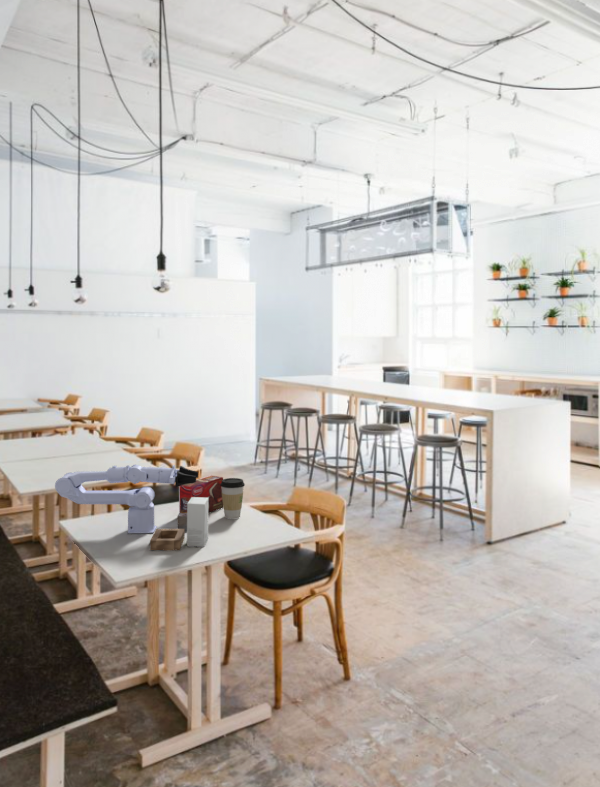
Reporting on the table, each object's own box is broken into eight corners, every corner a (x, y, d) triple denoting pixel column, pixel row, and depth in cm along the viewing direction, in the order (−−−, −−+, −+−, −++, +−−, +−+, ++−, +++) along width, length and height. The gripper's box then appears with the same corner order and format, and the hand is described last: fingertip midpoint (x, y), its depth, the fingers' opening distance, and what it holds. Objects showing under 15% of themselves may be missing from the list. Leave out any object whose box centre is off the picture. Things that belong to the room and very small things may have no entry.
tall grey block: (177, 531, 237) (177, 516, 237) (178, 528, 241) (178, 513, 241) (188, 531, 237) (188, 516, 237) (189, 528, 241) (189, 513, 241)
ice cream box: (211, 505, 273) (211, 475, 272) (223, 508, 270) (223, 477, 269) (179, 516, 257) (179, 484, 255) (191, 519, 253) (191, 486, 252)
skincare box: (191, 539, 229) (191, 496, 228) (209, 539, 229) (209, 497, 227) (186, 546, 221) (186, 502, 219) (205, 547, 220) (205, 503, 219)
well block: (150, 550, 216) (150, 540, 216) (156, 538, 229) (156, 528, 229) (179, 550, 217) (179, 540, 217) (184, 538, 230) (184, 528, 230)
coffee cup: (249, 516, 259) (249, 479, 257) (234, 521, 250) (234, 484, 249) (230, 512, 264) (230, 476, 263) (215, 517, 256) (215, 481, 254)
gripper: (157, 468, 229) (195, 470, 230) (163, 460, 244) (199, 462, 244) (156, 488, 230) (194, 489, 231) (163, 478, 244) (198, 480, 245)
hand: (197, 477), depth 238 cm, fingers open, 7 cm apart
